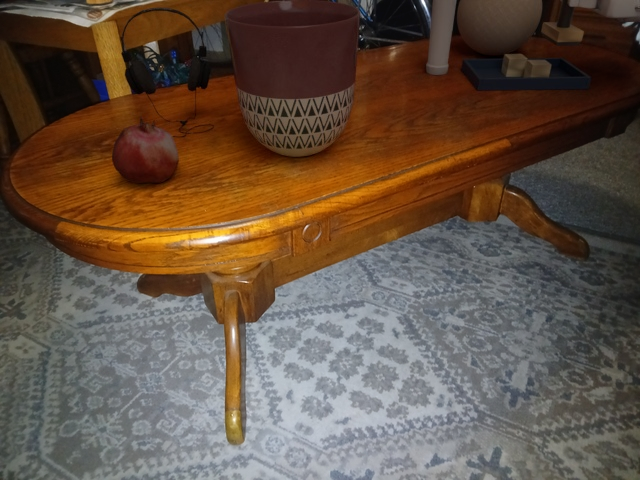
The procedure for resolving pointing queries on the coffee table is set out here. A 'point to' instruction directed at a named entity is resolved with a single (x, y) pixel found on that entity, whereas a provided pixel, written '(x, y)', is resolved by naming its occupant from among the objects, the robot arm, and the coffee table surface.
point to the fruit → (145, 154)
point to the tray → (491, 78)
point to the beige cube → (537, 68)
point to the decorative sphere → (497, 24)
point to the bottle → (440, 36)
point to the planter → (294, 71)
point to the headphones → (143, 80)
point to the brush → (563, 28)
